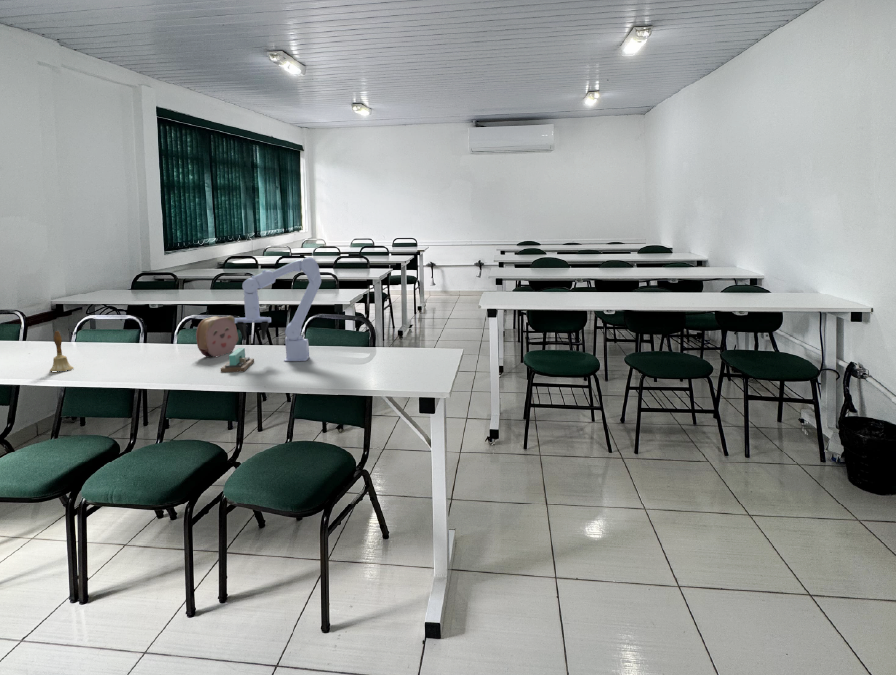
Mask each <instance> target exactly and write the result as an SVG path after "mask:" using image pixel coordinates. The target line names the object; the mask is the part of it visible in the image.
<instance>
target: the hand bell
mask: <svg viewBox="0 0 896 675" xmlns="http://www.w3.org/2000/svg"><path fill="white" fill-rule="evenodd" d="M53 335H54V336H53V342H54V344H55V346H56V356H54V357H53V363H52V367H51V368H50V369H49V371H66V370H70V371H72V370H71V369H73V368H74V367H73V366H72V365H71V364H70V363H69V361H68V358H67V356H66V355H63V351H62V342H63V341H62V335H61V332H60V331H59V330H55V331H54V334H53ZM73 370H74V369H73ZM66 372H67V371H66Z"/></svg>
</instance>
